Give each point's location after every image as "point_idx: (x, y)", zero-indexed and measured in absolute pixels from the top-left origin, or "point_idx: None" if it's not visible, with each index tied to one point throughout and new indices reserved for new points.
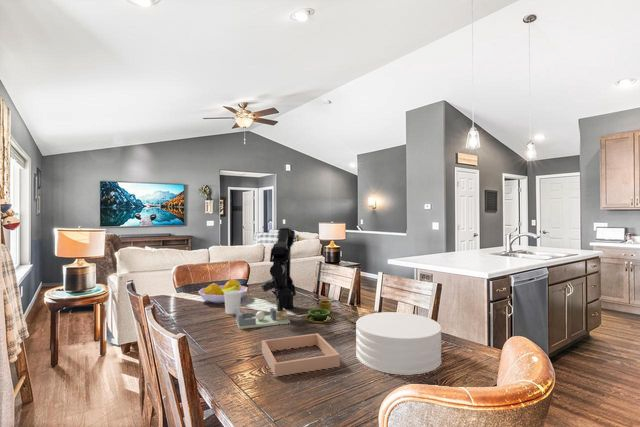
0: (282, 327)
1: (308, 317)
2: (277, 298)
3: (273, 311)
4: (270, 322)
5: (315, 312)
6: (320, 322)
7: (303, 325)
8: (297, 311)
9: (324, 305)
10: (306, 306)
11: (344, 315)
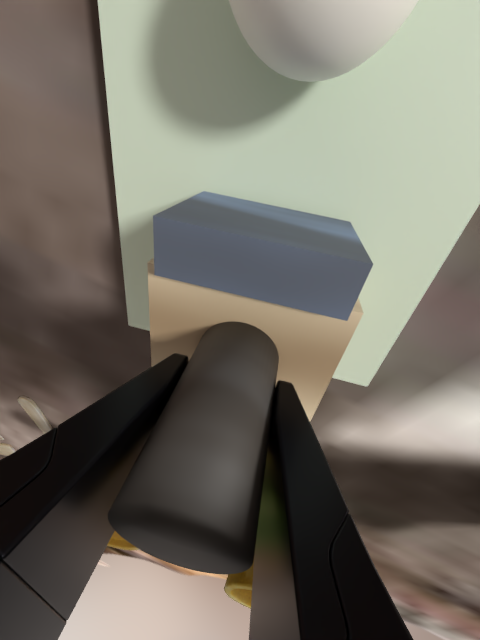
0: (47, 214)
1: None
2: (285, 559)
3: (156, 231)
4: (136, 125)
5: None
6: None
7: (74, 358)
8: (388, 479)
9: None
10: (442, 549)
11: None
